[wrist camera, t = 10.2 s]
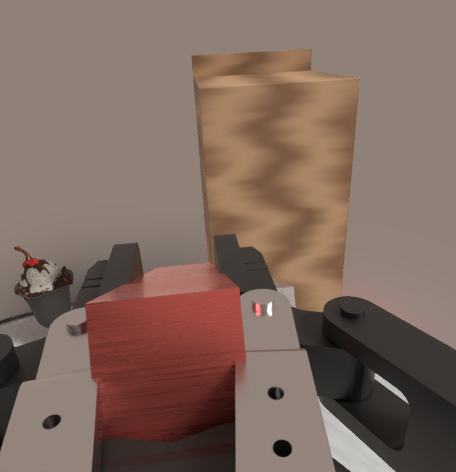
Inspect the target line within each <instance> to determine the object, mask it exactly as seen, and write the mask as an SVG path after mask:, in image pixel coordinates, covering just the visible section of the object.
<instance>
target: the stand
mask: <svg viewBox="0 0 456 472" xmlns="http://www.w3.org/2000/svg"><path fill="white" fill-rule="evenodd" d="M311 55H312V50H311V49H302V50H285V51H267V52H248V53H231V54H212V55H195V56H192V67H193V79H194V92H195V104H196V115H197V116H196V117H197V129H198V142H199V154H200V167H201V179H202V192H203V204H204V216H205V228H206V242H207V254H208V263H213V264H214V265H215V257H214V243H213V236H214V235H225V234H236V238H237V241H238V244H239V247H251V246H253V247H254V248H255V249H257V250H258V251H260V252H261V253H262V255H263V257H264V260H265V263H266V265H267V267H268V270H269V272H270V274H271V277H272V278H273V279H276V280H278V281H281V282H284V283H286V284H289V285H291V286H294V295H295V306H296V308H297V309H301V310H306V311H316V312H323V308H324V305H325V304H326V303H327V302H328V301H330V300H331V299H334V298H337V297H341V287H342V277H343V265H344V254H345V242H346V241H345V240H346V230H347V219H348V208H349V196H350V183H351V172H352V161H353V149H354V138H355V126H356V115H357V104H358V92H359V81H360V79H357V78H351V77H346V76H339V75H334V74H328V73H322V72H316V71H311Z"/></svg>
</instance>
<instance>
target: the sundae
mask: <svg viewBox="0 0 456 472" xmlns="http://www.w3.org/2000/svg"><path fill="white" fill-rule="evenodd" d="M14 249H15V250H18V251H21V250H22V249H21V248H20V247H14ZM21 252H23V253H24V254H25V256H26V261H24V262H23V264H22V265H23V267H24V269H25V270H24V271H23V272H22V274H21V275H20V280H19V281H20V282H19V283H18V284H17V285H16V286H15V288H14V289H15V294H17V295H20V296H22V297H24V299H25V300H26V301H27V302H28V304H29V306H30V308H31V310H32V312H33V314H34V316H35V318H36V319H37V321H38V322H39V324H41V325H42V326H45V327H47V328H49V327H50V325H51V324H52V322H53V321H54V320H55V319H57V318H58V317H59V316H61V315H62V314H64V313H66V312H69V311H71V303H70V293H69V285H71V284H72V283H73V272H72V271H71V270H69V269H66V266H64V267H63V268H62V269H59V268H57V267H56V264H53V263H52V262H50V261H48V260H38V259H36V258H32V257H31V256H30V255H29V254H28V253H27V252H26V251H24V250H22V251H21ZM26 254H28V256H29V257H30V259H31V260H28V257H27V255H26Z"/></svg>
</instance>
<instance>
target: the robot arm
mask: <svg viewBox="0 0 456 472" xmlns="http://www.w3.org/2000/svg"><path fill="white" fill-rule="evenodd" d="M213 243H214V257H215V268H216V269H217V270H218V271H219V272H220V273H221V274H225V275H226V276H227V277H228V278H229V279H230V280H231V281H232V282H234V283H235V284H236V285H237V286H238V287H239V290H240V300H241V311H242V321H243V332H244V342H245V353H246V360H243V361H235V415H236V422H235V423H227V424H221V425H218V426H216V427H213V428H210V429H208V430H205V431H202V432H200V433H197V434H194V435H191V436H189V437H186V438H183V439H181V440H178V441H175V442H159V441H149V440H139V439H129V438H114V439H106V440H102V430H103V426H104V424H105V423H104V416H103V409H102V403H101V396H100V389H99V382H98V378H92V379H91V367H90V356H89V344H88V333H87V321H86V310H85V304H86V303H88V302H90V301H92V300H94V299H96V298H98V297H100V296H102V295H104V294H106V293H108V292H110V291H112V290H114V289H116V288H118V287H120V286H122V285H124V284H127V283H129V282H131V281H133V280H135V279H137V278H139V277H141V276H143V269H142V263H141V256H140V250H139V246H138V243H129V244H128V243H127V244H117V245H114V246H113V249H112V252H111V255H110V258H109V260H104V261H98V262H97V263H96V264H94V265H93V266H92V267H91V268H90V269H89V270H88V272H87V275H86V277H85V281H84V282H83V284H82V287H81V288H82V289H80V292H79V294H78V297H77V299H76V301H75V304H74V306H73V309H72V310H71V311H69V312H66V313H64V314H62V315H61V316H59V317H58V318H57V319H55V320H54V321H53V322H52V324H51V325H50V327H49V330H48V334H47V337H45V338H43V339H40V340H37V341H34V342H31V343H27V344H24V345H21V346H18V347H14V345H13V342H12V339H11V338H10V337H9V336H7V335H4V334H0V472H351V471H349V470H348V469H347V468H345V467H344V466H343V465H342V464H340V463H339V462H338V461H336V460H335V459H334V458H333V457H332V455H331V451H330V447H329V442H328V438H327V434H326V430H325V426H324V422H323V417H322V413H321V409H320V405H319V401H318V396H319V399H320V402H321V403H322V405H323V406H324V407H325V408H326V409H327V410H329V411H330V412H331V413H332V414H333V415H334V416H335V417H336V418H337V419H338V420H340V421H341V422H342V423H343V424H344V425H345V426H346V427H347V428H348V429H349V430H351V431H352V432H353V433H354V434H355V435H356V436H357V437H358V438H359V439H360V440H362V441H363V442H364V443H365V444H366V445H367V446H368V447H369V448H370V449H371V450H373V451H374V452H375V453H376V454H377V455H378V456H379V457H380V458H381V459H382V460H384V461H385V462H386V463H387V464H388V465H389V466H390V467H391V468H392V469H393V470H395V471H396V472H456V350H455V349H453V348H451V347H450V346H448V345H446V344H444V343H443V342H441V341H439V340H437V339H435V338H434V337H432V336H430V335H428V334H427V333H425V332H423V331H421V330H419V329H418V328H416V327H414V326H412V325H410V324H409V323H407V322H405V321H404V320H402V319H400V318H398V317H396V316H395V315H393V314H391V313H389V312H387V311H385V310H384V309H382V308H380V307H379V306H377V305H375V304H373V303H372V302H369V301H367V300H365V299H362V298H357V297H350V296H344V297H337V298H334V299H331V300H330V301H328V302H327V303H326V304H325V305H324V308H323V312H316V311H306V310H301V309H297V308H294V307H292V306H291V305H290V301H289V299H288V298H287V297H286V296H285V295H284V294H282V293H280V292H278V291H277V289H276V286H275V284H274V281H273V279H272V277H271V274H270V272H269V270H268V267H267V265H266V263H265V260H264V257H263V255H262V253H261V252H260V251H258V250H257V249H255V248H254V247H253V246H251V247H239V244H238V241H237V238H236V234H225V235H214V236H213ZM375 373H377V374H378V375H379V376H381V377H382V378H383V379H385V380H386V381H388V382H389V383H390V384H392V385H393V386H395V387H396V388H397V389H399V390H400V391H401V392H402V393H403V395H404V396H405V397H406V399H407V401H408V403H409V404H408V403H406V402H405V401H404V400H402V399H401V398H400V397H398V396H397V395H396V394H394V393H393V392H391V391H390V390H389V389H387V388H386V387H385V386H383V385H382V384H381V383H379V382H378V381H377V380H375V379H374V377H375Z"/></svg>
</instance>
